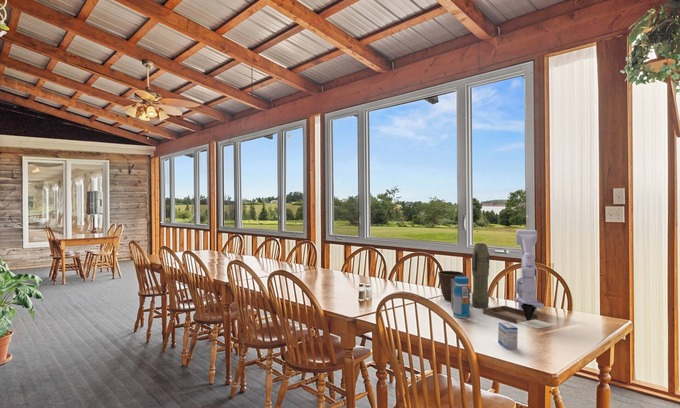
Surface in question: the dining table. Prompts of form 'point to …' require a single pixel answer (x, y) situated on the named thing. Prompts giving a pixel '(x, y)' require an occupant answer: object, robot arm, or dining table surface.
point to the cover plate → (536, 323)
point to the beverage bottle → (461, 297)
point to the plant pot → (447, 282)
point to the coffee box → (452, 291)
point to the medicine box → (507, 335)
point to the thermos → (480, 276)
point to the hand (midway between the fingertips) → (528, 320)
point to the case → (508, 314)
